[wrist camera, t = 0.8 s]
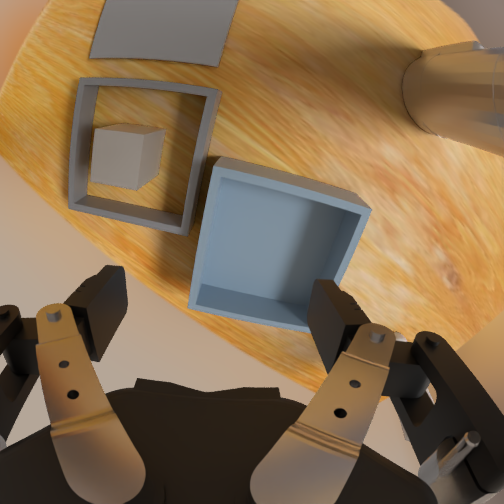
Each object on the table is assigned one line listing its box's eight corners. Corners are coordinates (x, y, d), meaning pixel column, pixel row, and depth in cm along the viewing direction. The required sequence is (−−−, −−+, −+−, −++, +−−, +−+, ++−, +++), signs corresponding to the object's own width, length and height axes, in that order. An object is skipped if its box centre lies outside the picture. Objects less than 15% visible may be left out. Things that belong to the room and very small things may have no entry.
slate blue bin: (221, 156, 28) (213, 165, 23) (356, 193, 29) (372, 209, 25) (195, 282, 35) (187, 308, 30) (308, 306, 36) (314, 333, 32)
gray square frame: (94, 78, 23) (79, 77, 20) (222, 91, 24) (218, 89, 22) (81, 199, 30) (68, 208, 27) (193, 224, 31) (187, 236, 29)
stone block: (123, 122, 26) (95, 128, 21) (166, 128, 26) (144, 134, 21) (117, 167, 28) (90, 181, 23) (158, 174, 29) (136, 190, 23)
